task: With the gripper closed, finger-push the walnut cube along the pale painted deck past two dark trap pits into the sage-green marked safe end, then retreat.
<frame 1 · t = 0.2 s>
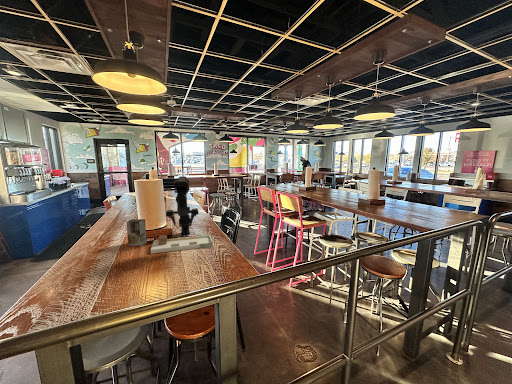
hand: (183, 225, 130), 14 cm above the table, fingers open, 9 cm apart
block: (163, 243, 133), point 2 cm above the table, touching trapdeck
coffee box: (137, 244, 138), on the table
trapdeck: (183, 246, 135), on the table
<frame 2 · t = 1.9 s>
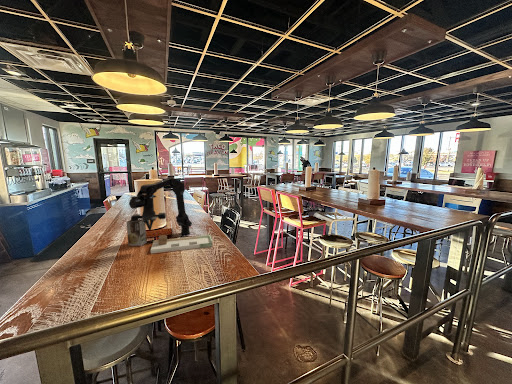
hand: (150, 230, 130), 12 cm above the table, fingers closed
nothing on the table moved.
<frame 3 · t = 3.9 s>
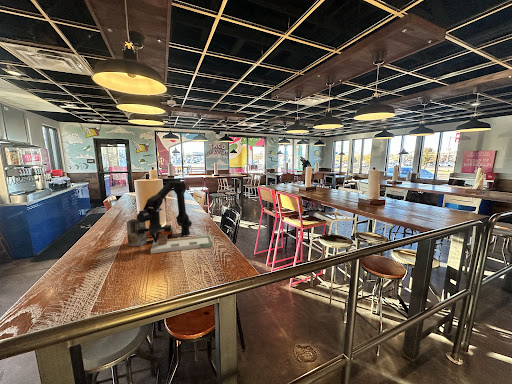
hand: (155, 242, 132), 3 cm above the table, fingers closed
block: (163, 243, 133), point 2 cm above the table, touching gripper, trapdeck
everything else where it was.
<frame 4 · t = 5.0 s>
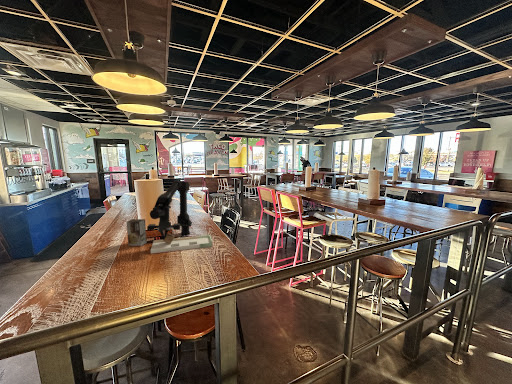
hand: (164, 240, 133), 5 cm above the table, fingers closed, pressing on block
block: (167, 241, 133), point 4 cm above the table, tilted 29°, touching gripper, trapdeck
everything else where it was.
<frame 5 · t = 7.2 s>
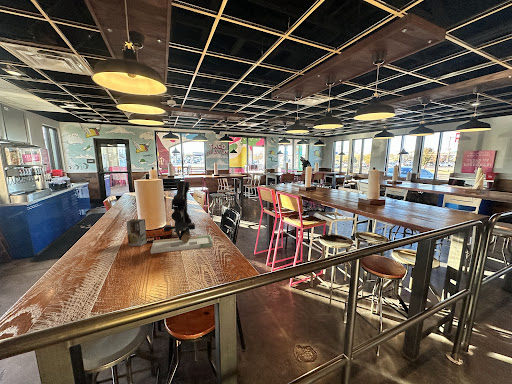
hand: (180, 240, 136), 3 cm above the table, fingers closed
block: (184, 240, 136), point 3 cm above the table, tilted 29°, touching gripper, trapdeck
everything else where it was.
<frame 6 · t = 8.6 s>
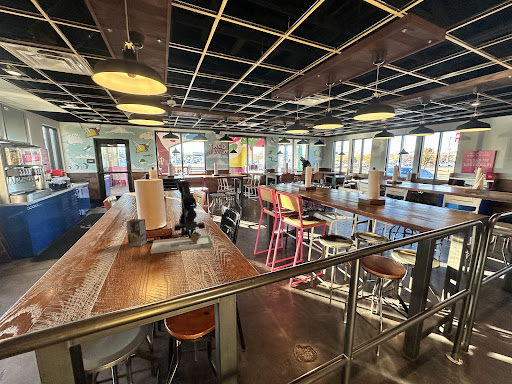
hand: (190, 239, 138), 4 cm above the table, fingers closed
block: (194, 239, 137), point 3 cm above the table, tilted 29°, touching gripper, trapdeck
everything else where it was.
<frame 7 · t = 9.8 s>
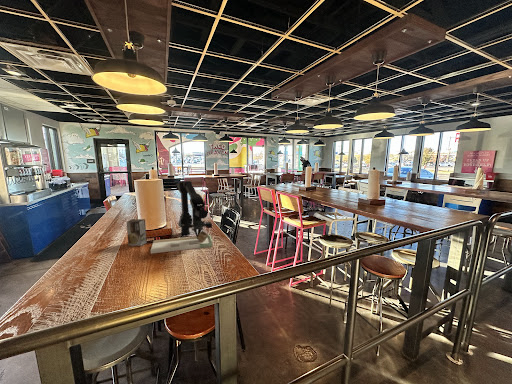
hand: (197, 238, 140), 4 cm above the table, fingers closed
block: (201, 239, 138), point 4 cm above the table, tilted 30°, touching gripper, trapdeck
everything else where it was.
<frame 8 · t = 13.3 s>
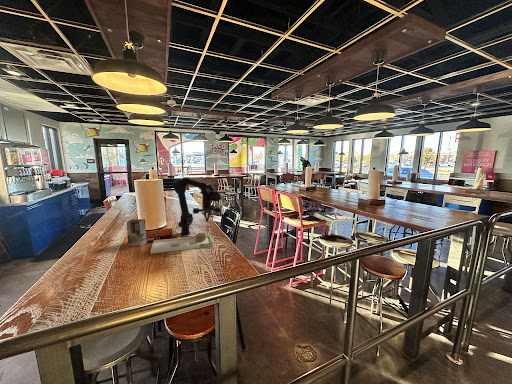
hand: (207, 221, 148), 12 cm above the table, fingers closed
block: (200, 240, 138), point 2 cm above the table, touching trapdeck
everything else where it was.
at the end: block inside the target area on the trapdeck (3.2 cm from its centre), point 2.4 cm above the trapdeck's base; block tilted 0° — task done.
